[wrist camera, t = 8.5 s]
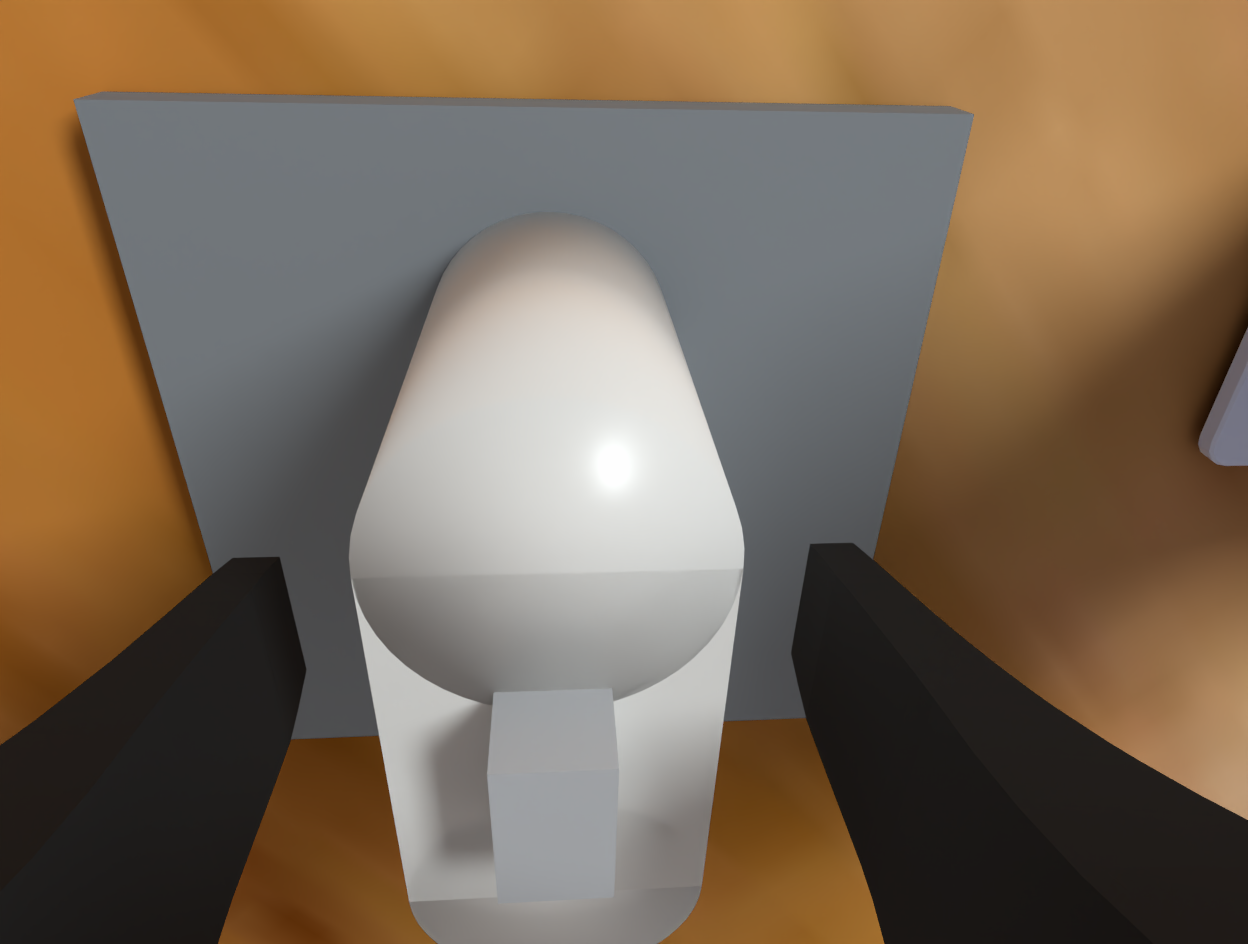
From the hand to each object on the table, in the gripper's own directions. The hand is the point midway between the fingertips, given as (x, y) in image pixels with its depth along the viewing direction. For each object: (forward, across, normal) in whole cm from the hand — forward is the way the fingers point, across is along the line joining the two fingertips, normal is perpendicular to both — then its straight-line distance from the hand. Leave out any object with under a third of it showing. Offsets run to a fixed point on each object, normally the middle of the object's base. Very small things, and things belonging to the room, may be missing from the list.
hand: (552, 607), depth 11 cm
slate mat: (+4, 0, 0) cm, 4 cm away
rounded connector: (+3, 0, 0) cm, 3 cm away
